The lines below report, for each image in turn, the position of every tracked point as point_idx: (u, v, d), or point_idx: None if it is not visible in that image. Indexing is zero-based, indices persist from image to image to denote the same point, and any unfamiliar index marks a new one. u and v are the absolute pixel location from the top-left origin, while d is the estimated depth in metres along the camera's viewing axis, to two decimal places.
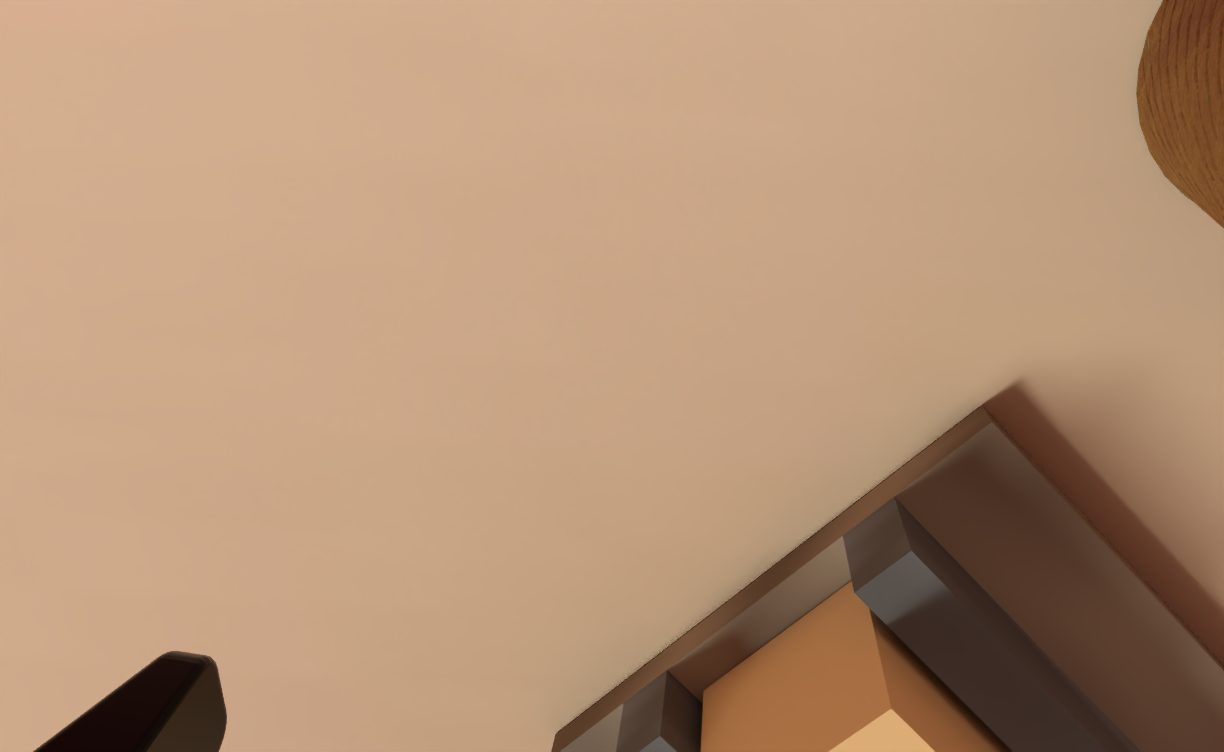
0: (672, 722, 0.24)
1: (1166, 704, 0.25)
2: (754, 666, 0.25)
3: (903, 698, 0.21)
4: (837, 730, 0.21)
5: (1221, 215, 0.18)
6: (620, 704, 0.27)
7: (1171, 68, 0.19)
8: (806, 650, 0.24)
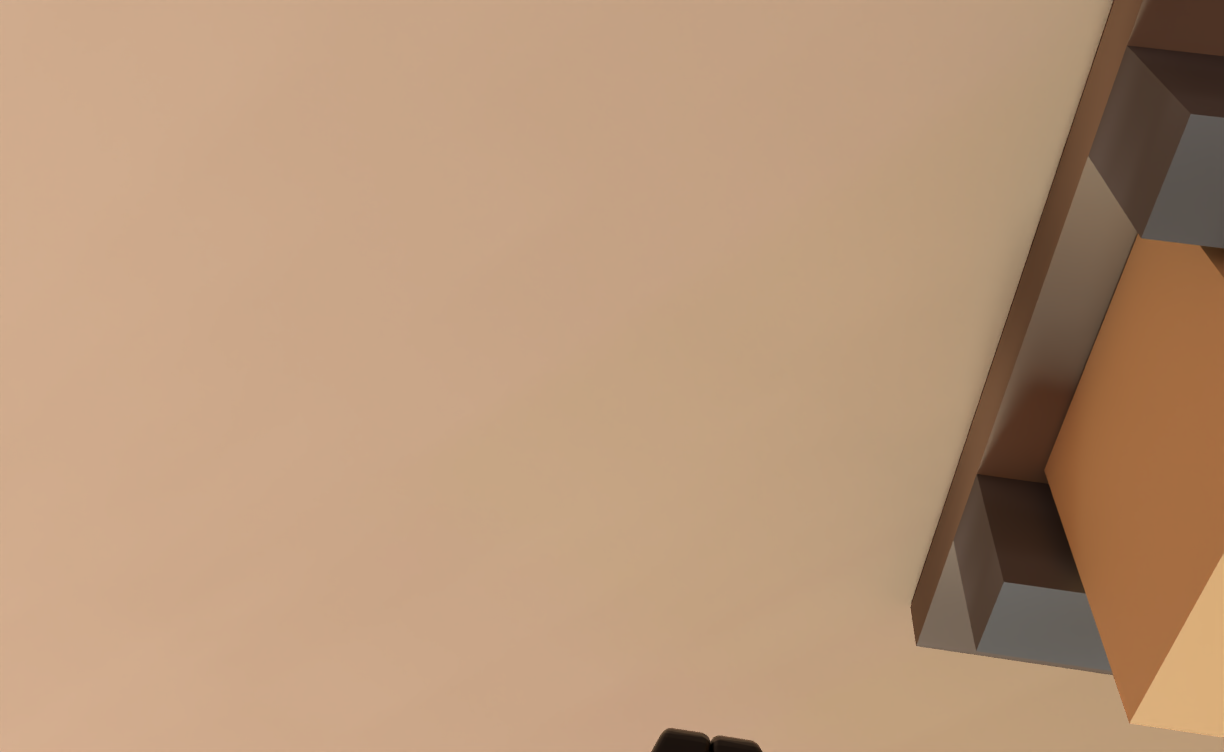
0: (1016, 546, 0.16)
1: None
2: (1085, 407, 0.16)
3: None
4: None
5: None
6: (951, 543, 0.18)
7: None
8: (1138, 350, 0.14)
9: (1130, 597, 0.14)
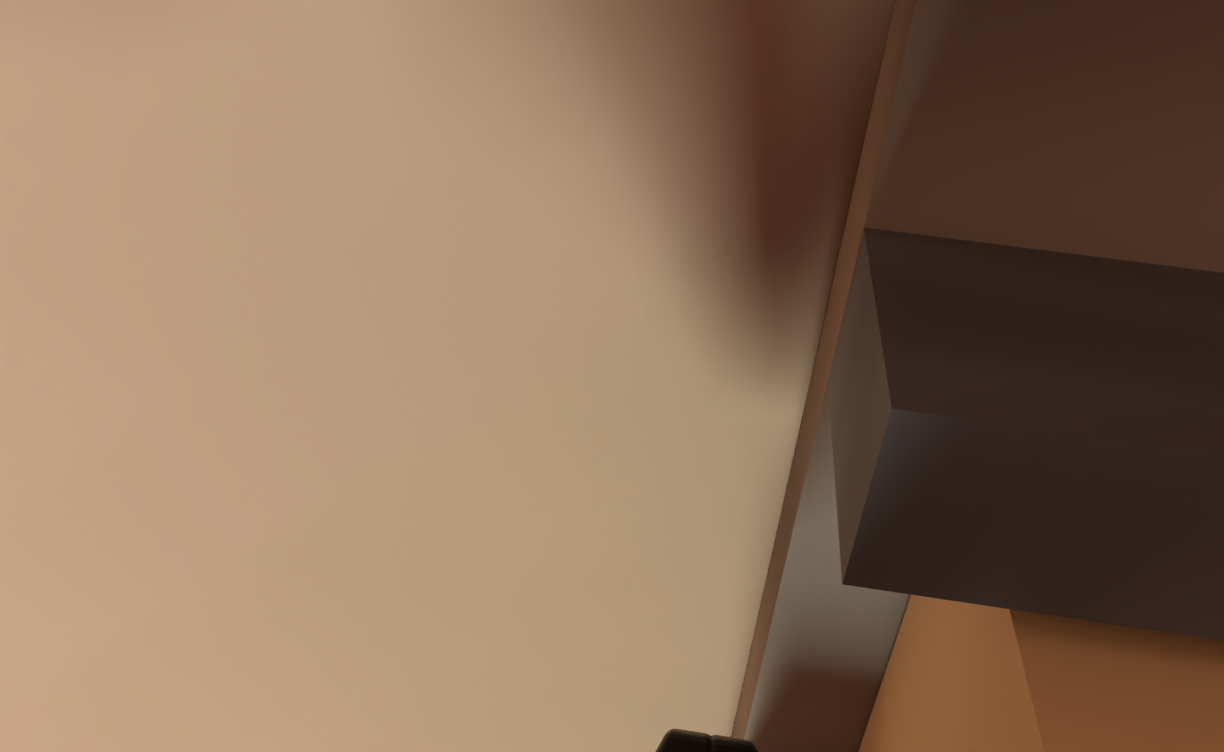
0: None
1: None
2: (886, 722, 0.11)
3: None
4: None
5: None
6: None
7: None
8: (933, 686, 0.09)
9: None
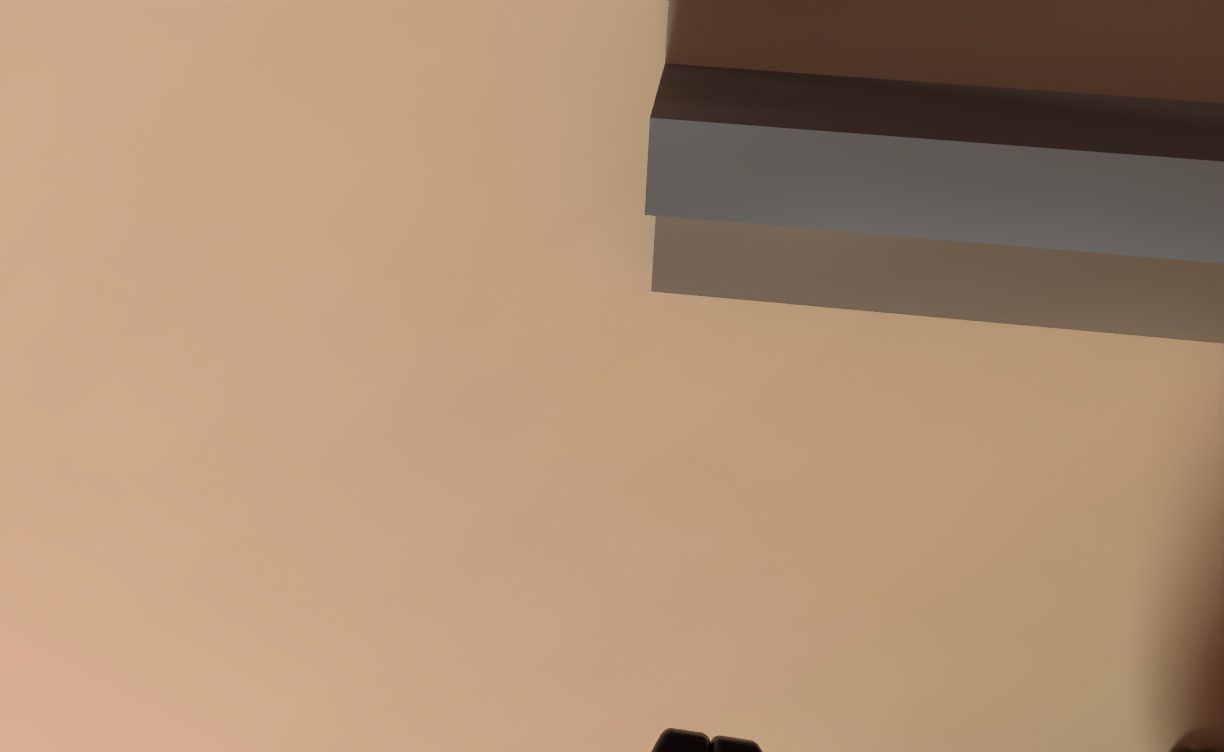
0: (678, 100, 0.16)
1: None
2: None
3: None
4: None
5: None
6: None
7: None
8: None
9: None
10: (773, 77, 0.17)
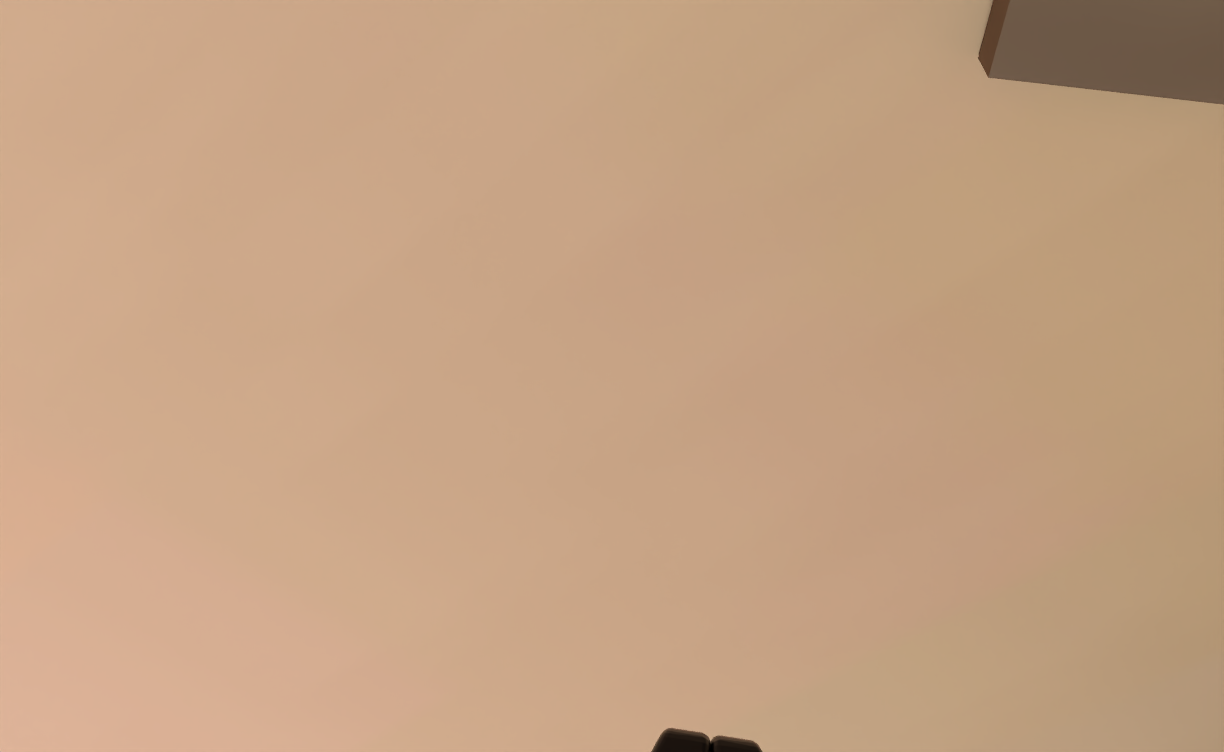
0: None
1: None
2: None
3: None
4: None
5: None
6: None
7: None
8: None
9: None
10: None
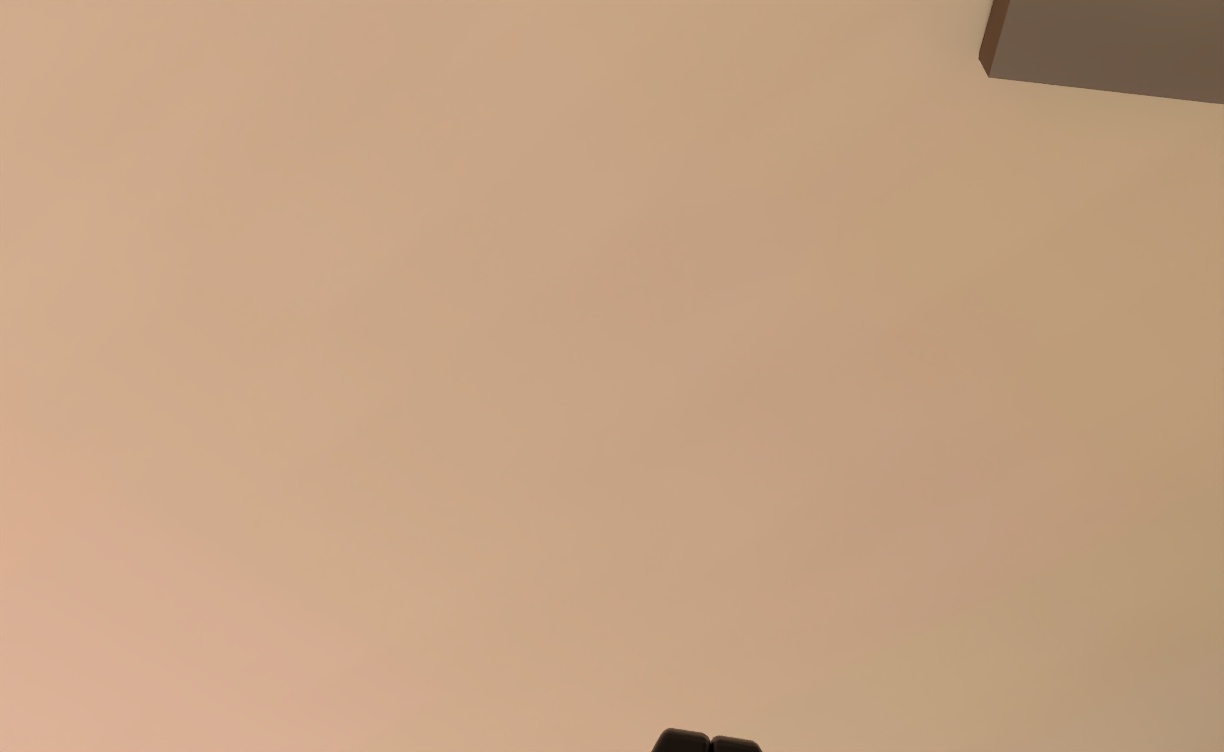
0: None
1: None
2: None
3: None
4: None
5: None
6: None
7: None
8: None
9: None
10: None
